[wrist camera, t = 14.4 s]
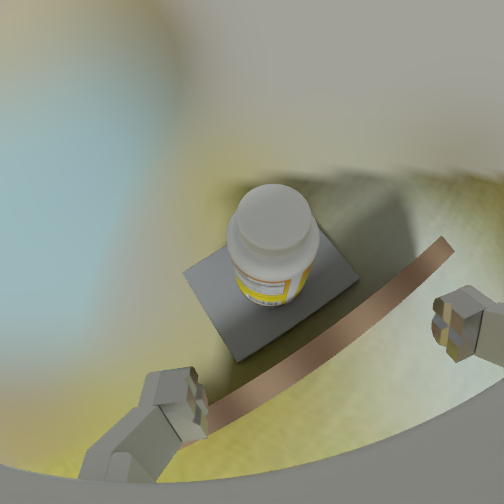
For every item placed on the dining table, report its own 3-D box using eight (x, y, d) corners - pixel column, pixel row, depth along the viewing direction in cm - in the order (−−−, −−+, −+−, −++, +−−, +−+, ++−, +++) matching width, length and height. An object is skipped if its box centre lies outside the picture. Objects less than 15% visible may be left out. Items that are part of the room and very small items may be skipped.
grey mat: (296, 206, 29) (296, 202, 29) (358, 281, 26) (360, 277, 25) (185, 275, 28) (182, 272, 27) (238, 363, 24) (237, 362, 23)
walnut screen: (409, 271, 26) (441, 235, 19) (419, 284, 25) (454, 251, 19) (176, 430, 22) (139, 442, 16) (185, 446, 21) (152, 462, 15)
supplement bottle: (286, 235, 27) (297, 159, 18) (316, 292, 25) (347, 238, 16) (225, 260, 26) (206, 191, 17) (252, 320, 24) (245, 282, 15)
